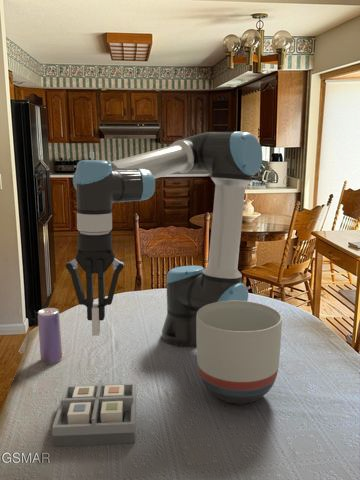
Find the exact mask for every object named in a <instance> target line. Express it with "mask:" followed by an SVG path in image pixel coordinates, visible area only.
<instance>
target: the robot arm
mask: <svg viewBox="0 0 360 480" xmlns="http://www.w3.org/2000/svg"><path fill="white" fill-rule="evenodd" d="M262 149H263V148H262V147H261V144H260V142H259V140H258V138H257V137H256V135H254V134H252V133H251V132H248V131H207V132H206V131H205V132H201V133H198V134H195V135H191V136H188V137H185V138H182V139H181V138H180V139H178V140H175V141H173V143H171V145H170V146H166V147H163V148H162V147H161V148H158V149H154V150H151V151H147V152H143V153H140V154H136V155H132V156H128V157H125V158H121V159H116V160H114V161H110V160H106V159H105V160H103V159H102V160H101V159H100V160H97V159H96V160H95V159H93V160H92V159H88V160H87V159H85V160H84V159H83V160H79V161H78V162H77V164H76V170H75V172H74V173H73V177H72V184H73V187H74V189H75V191H76V230H78V231H79V232H78V233H77V238H76V239H77V253H76V255H75V258H74V259H72V260H69V261H68V262H66V264H65V268H66V270H67V271H68V273H69V274H70V277H71V280H72V284H73V287H74V291H75V295H76V299H77V302H78V304H79V305H80V306H81V305H82V306H85V307H86V319H87V321H91V335H92V336H94V337H95V336H96V337H97V336H100V333H101V321H104V320H105V317H106V308H105V307H106V306H110V305H112V303H113V300H114V297H115V292H116V288H117V283H118V279H119V276H120V273H121V272H122V271H123V269H124V266H125V262H124V261H123V260H122V261H120V260H118V259H117V258H115V254H114V251H113V233H112V232H111V231H112V229H113V204H116V203H126V202H127V203H128V202H129V203H132V202H141V201H145V200H146V201H147V200H150V199H151V198H152V196H153V195H154V193H155V190H156V180H155V179H159V178H163V177H165V176H168V175H171V174H175V173H181V174H187V173H188V172H190V173H191V172H207V173H210V179H211V180H212V182H213V183H214V185H215V187H214V199H213V210H212V220H211V230H210V231H211V232H210V241H209V242H210V243H209V254H208V263H207V264H208V266H207V267H205V268H204V267H203V266H201V265H183V266H178V267H174V268H172V269H170V270H169V271H168V272H167V274H166V310H167V313H166V317H165V321H164V323H163V327H162V330H161V338H162V340H163V341H164V343H166V344H169V345H171V346H175V347H197V341H196V314H197V312H198V310H199V309H200V308H202V307H203V306H205V305H208V304H211V303H215V302H221V301H249V290H248V287H247V286H246V285H245V284H244V283H243V282H242V278H243V277H242V276H243V275H242V273H241V271H239V269H238V266H239V256H240V255H239V254H240V245H241V238H242V237H241V235H242V227H243V226H242V225H243V217H244V216H243V214H244V206H245V205H244V204H245V195H246V187H247V186H249V184H251V183H252V179H253V176H254V175H256V174H258V172H259V171H260V169H261V168H262V164H263V150H262ZM111 265H113V266H112V269H113V274H112V278H111V282H110V287H109V288H108V289H109V290H108V293H107V297H106V292H105V291H106V286H105V284H106V283H105V282H106V281H105V280H106V278H105V275H106V272H107V271H108V269H109V268H110V266H111ZM79 266H80V268H81V269H82V270H83V271H84V273H85V284H86V286H85V289H86V291H85V292H86V295H85V292H84V288H83V285H82V282H81V281H82V280H81V277H80V274H79V270H78V267H79ZM94 274H97V292H98V293H97V297H98V298H97V301H98V303H94Z"/></svg>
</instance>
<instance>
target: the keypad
mask: <svg viewBox="0 0 360 480" xmlns="http://www.w3.org/2000/svg"><path fill="white" fill-rule="evenodd" d="M109 385H124V396H115V397H103V395H104V389H105V386H109ZM82 386H94V387H95V397H89V398H72V397H73V393H74V389H75V387H82ZM108 401H123V421H122V422H116V423H101V407H102V402H108ZM83 402H91V410H92V416H91V421H90V424H69V425H68V416H67V414H68V411H69V407H70V404H71V403H83ZM54 417H55V418H54V420H53V424H52V426H51V430H52V432H51V433H52V445H53V447H74V446H96V445H98V446H99V445H116V444H119V445H120V444H135V443H136V426H137V425H136V424H137V422H136V421H137V419H136V418H137V382H122V381H121V382H118V381H117V382H103V379H99V380H98V382H97V383H96V382H95V383H94V382H93V383H80V384H70V385H69V384H66V385H65V386H64V390H63V392H62V395H61V399H60V401H59V405H58V407H57V411H56V415H55V416H54Z"/></svg>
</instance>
